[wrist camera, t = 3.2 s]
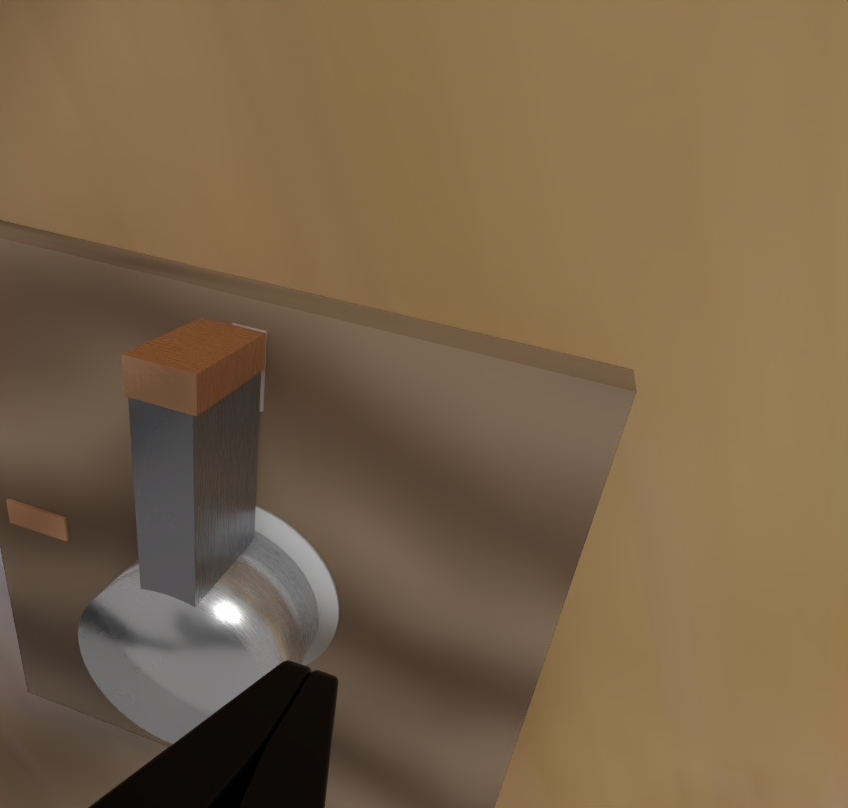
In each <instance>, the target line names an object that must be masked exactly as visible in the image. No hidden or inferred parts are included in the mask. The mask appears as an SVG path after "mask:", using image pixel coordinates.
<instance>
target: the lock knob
mask: <svg viewBox="0 0 848 808" xmlns="http://www.w3.org/2000/svg"><path fill="white" fill-rule="evenodd" d="M265 352H266V333H264V332H260V331H256V330H252V329H248V328H245V327H241V326H237V325H233V324H229V323H225V322H221V321H217V320H213V319H209V318H205V317H201V318H199V319H197V320H195V321H193V322H190V323H188V324H186V325H184V326H182V327H179V328H177V329H175V330H173V331H171V332H169V333H166V334H164V335H162V336H160V337H158V338H155V339H153V340H151V341H149V342H147V343H145V344H142V345H140V346H138V347H136V348H134V349H131V350H129V351H127V352H125V353H123V354H121V358H122V372H123V387H124V396H126V397H128V404H129V419H130V434H131V450H132V465H133V480H134V495H135V511H136V526H137V541H138V557H139V558H138V559H137V560H136V561H135V562H134V563H133V564H132V565H131V566H129V567H128V568H127V569H126V570H125V571H124V572H123V573H122V574H121V575H120V576H119V577H117V578H116V579H115V580H114V581H113V582H112V583H111V584H110V585H109V586H108V587H106V588H105V589H104V590H103V591H102V592H101V593H100V594H99V595H98V596H97V597H96V598H94V599H93V600H92V601H91V602H90V603H89V605H88V606H87V607H86V608H85V610H84V612H83V613H82V615H81V619H80V622H79V628H78V642H79V647H80V652H81V655H82V658H83V660H84V663H85V665H86V667H87V669H88V671H89V673H90V675H91V677H92V678H93V680H94V682H95V683H96V684H97V686H98V687H99V689H100V690H101V691H102V693H103V694H104V695H105V696H106V697H107V698H108V700H109V701H110V702H111V703H112V704H113V705H114V706H115V707H116V708H117V709H118V710H119V711H120V712H122V713H123V714H124V715H125V716H126V717H127V718H129V719H130V720H131V721H133V722H134V723H135V724H137V725H138V726H139V727H141V728H143V729H144V730H146V731H147V732H149V733H151V734H152V735H154V736H156V737H158V738H160V739H162V740H164V741H167V742H169V743H171V744H174V743H175V742H176V741H178V740H179V739H180V738H182V737H183V736H184V735H186V734H187V733H188V732H190V731H191V730H192V729H194V728H195V727H196V726H198V725H199V724H200V723H202V722H203V721H204V720H206V719H207V718H208V717H210V716H211V715H212V714H214V713H215V712H216V711H218V710H219V709H220V708H222V707H223V706H224V705H226V704H227V703H228V702H230V701H231V700H232V699H234V698H235V697H236V696H238V695H239V694H240V693H242V692H243V691H244V690H246V689H247V688H248V687H250V686H251V685H252V684H254V683H255V682H256V681H258V680H259V679H260V678H262V677H263V676H264V675H266V674H267V673H268V672H270V671H271V670H272V669H274V668H275V667H276V666H278V665H279V664H280V663H282V662H284V661H287V660H290V661H294V662H297V663H299V664H301V663H302V661H303V660H304V658H305V656H306V654H307V652H308V651H309V649H310V647H311V645H312V644H313V642H314V640H315V637H316V635H317V631H318V626H319V612H318V605H317V602H316V598H315V595H314V592H313V590H312V588H311V585H310V584H309V582H308V580H307V578H306V577H305V575H304V574H303V572H302V571H301V569H300V568H299V567H298V565H297V564H296V563H295V562H294V561H293V560H292V559H291V557H290V556H289V555H288V554H287V553H285V552H284V551H283V550H282V549H281V548H280V547H279V546H277V545H276V544H275V543H273V542H272V541H271V540H270V539H268V538H266V537H265V536H263V535H261V534H260V533H258V532H256V531H255V509H256V484H257V460H258V435H259V411H260V386H261V371H263V370H264V369H265Z"/></svg>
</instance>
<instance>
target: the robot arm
mask: <svg viewBox="0 0 848 808" xmlns="http://www.w3.org/2000/svg"><path fill="white" fill-rule="evenodd" d="M338 682H339V681H338V678H337V677H336V676H334V675H331V674H329V673H326V672H323V671H320V670H313V671H311V668H310V667H308V666H305V665H302V664H299V663H297V662H294V661H290V660H287V661H284V662H282V663H280V664H279V665H278V666H276V667H275V668H274V669H272V670H271V671H270V672H268V673H267V674H266V675H264V676H263V677H262V678H260V679H259V680H258V681H256V682H255V683H254V684H252V685H251V686H250V687H248V688H247V689H246V690H244V691H243V692H242V693H240V694H239V695H238V696H236V697H235V698H234V699H232V700H231V701H230V702H228V703H227V704H226V705H224V706H223V707H222V708H220V709H219V710H218V711H216V712H215V713H214V714H212V715H211V716H210V717H208V718H207V719H206V720H204V721H203V722H202V723H200V724H199V725H198V726H196V727H195V728H194V729H192V730H191V731H190V732H188V733H187V734H186V735H184V736H183V737H182V738H180V739H179V740H178V741H176V742H175V743H174V744H172V745H171V746H170V747H168V748H167V749H166V750H164V751H163V752H162V753H160V754H159V755H158V756H156V757H155V758H154V759H152V760H151V761H150V762H148V763H147V764H146V765H144V766H143V767H142V768H140V769H139V770H138V771H136V772H135V773H134V774H132V775H131V776H130V777H128V778H127V779H126V780H124V781H123V782H122V783H120V784H119V785H118V786H116V787H115V788H114V789H112V790H111V791H110V792H108V793H107V794H106V795H104V796H103V797H102V798H100V799H99V800H98V801H96V802H95V803H94V804H92V805H91V806H90V807H88V808H325V801H326V792H327V783H328V774H329V765H330V755H331V746H332V737H333V728H334V719H335V710H336V701H337V692H338Z"/></svg>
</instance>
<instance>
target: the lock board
mask: <svg viewBox="0 0 848 808" xmlns="http://www.w3.org/2000/svg"><path fill="white" fill-rule="evenodd" d="M201 317H205V318H209V319H213V320H217V321H221V322H225V323H229V324H233V325H237V326H241V327H245V328H248V329H252V330H256V331H260V332H264V333H266V352H265V369H264V370H263V371H261V386H260V411H259V435H258V460H257V484H256V509H255V531H256V532H258V533H260V534H261V535H263V536H265V537H266V538H268V539H270V540H271V541H272V542H273V543H275V544H276V545H277V546H279V547H280V548H281V549H282V550H283V551H284V552H285V553H287V554H288V555H289V556H290V557H291V559H292V560H293V561H294V562H295V563H296V564H297V565H298V567H299V568H300V569H301V571H302V572H303V574H304V575H305V577H306V578H307V580H308V582H309V584H310V585H311V588H312V590H313V592H314V595H315V598H316V602H317V605H318V612H319V626H318V631H317V635H316V637H315V640H314V642H313V644H312V645H311V647H310V649H309V651H308V652H307V654H306V656H305V658H304V660H303V661H302V663H301V664H302V665H305V666H308V667H310V668H311V671H313V670H320V671H323V672H326V673H329V674H331V675H334V676H336V677H337V678H338V681H339V682H338V692H337V701H336V710H335V719H334V728H333V737H332V746H331V755H330V765H329V774H328V783H327V792H326V801H325V807H327V808H494V807H495V804H496V801H497V798H498V795H499V792H500V789H501V786H502V783H503V780H504V777H505V775H506V772H507V769H508V766H509V763H510V760H511V757H512V754H513V751H514V748H515V745H516V742H517V739H518V737H519V734H520V731H521V728H522V725H523V722H524V719H525V716H526V713H527V710H528V707H529V704H530V701H531V699H532V696H533V693H534V690H535V687H536V684H537V681H538V678H539V675H540V672H541V669H542V666H543V663H544V661H545V658H546V655H547V652H548V649H549V646H550V643H551V640H552V637H553V634H554V631H555V628H556V625H557V623H558V620H559V617H560V614H561V611H562V608H563V605H564V602H565V599H566V596H567V593H568V590H569V587H570V585H571V582H572V579H573V576H574V573H575V570H576V567H577V564H578V561H579V558H580V555H581V552H582V549H583V547H584V544H585V541H586V538H587V535H588V532H589V529H590V526H591V523H592V520H593V517H594V514H595V511H596V509H597V506H598V503H599V500H600V497H601V494H602V491H603V488H604V485H605V482H606V479H607V476H608V473H609V471H610V468H611V465H612V462H613V459H614V456H615V453H616V450H617V447H618V444H619V441H620V438H621V435H622V433H623V430H624V427H625V424H626V421H627V418H628V415H629V412H630V409H631V406H632V403H633V400H634V397H635V395H636V385H635V378H634V370H631V369H627V368H623V367H618V366H614V365H610V364H606V363H602V362H597V361H593V360H589V359H585V358H580V357H576V356H572V355H568V354H563V353H559V352H555V351H551V350H547V349H542V348H538V347H534V346H530V345H525V344H521V343H517V342H513V341H508V340H504V339H500V338H496V337H492V336H487V335H483V334H479V333H475V332H470V331H466V330H462V329H458V328H453V327H449V326H445V325H441V324H437V323H432V322H428V321H424V320H420V319H415V318H411V317H407V316H403V315H398V314H394V313H390V312H386V311H382V310H377V309H373V308H369V307H365V306H360V305H356V304H352V303H348V302H343V301H339V300H335V299H331V298H327V297H322V296H318V295H314V294H310V293H305V292H301V291H297V290H293V289H288V288H284V287H280V286H276V285H272V284H267V283H263V282H259V281H255V280H250V279H246V278H242V277H238V276H233V275H229V274H225V273H221V272H216V271H212V270H208V269H204V268H200V267H195V266H191V265H187V264H183V263H178V262H174V261H170V260H166V259H161V258H157V257H153V256H149V255H145V254H140V253H136V252H132V251H128V250H123V249H119V248H115V247H111V246H106V245H102V244H98V243H94V242H90V241H85V240H81V239H77V238H73V237H68V236H64V235H60V234H56V233H51V232H47V231H43V230H39V229H35V228H30V227H26V226H22V225H18V224H13V223H9V222H5V221H1V220H0V549H1V554H2V559H3V564H4V570H5V575H6V580H7V585H8V590H9V596H10V601H11V606H12V611H13V617H14V622H15V627H16V632H17V637H18V643H19V648H20V653H21V658H22V664H23V669H24V674H25V679H26V685H27V690H28V692H30V693H32V694H35V695H38V696H40V697H43V698H45V699H48V700H51V701H53V702H56V703H58V704H61V705H63V706H66V707H69V708H71V709H74V710H76V711H79V712H81V713H84V714H87V715H89V716H92V717H94V718H97V719H100V720H102V721H105V722H107V723H110V724H112V725H115V726H118V727H120V728H123V729H125V730H128V731H130V732H133V733H136V734H138V735H141V736H143V737H146V738H149V739H151V740H154V741H156V742H159V743H161V744H164V745H167V746H169V747H170V746H171V745H172V744H171V743H169V742H167V741H164V740H162V739H160V738H158V737H156V736H154V735H152V734H151V733H149V732H147V731H146V730H144V729H143V728H141V727H139V726H138V725H137V724H135V723H134V722H133V721H131V720H130V719H129V718H127V717H126V716H125V715H124V714H123V713H122V712H120V711H119V710H118V709H117V708H116V707H115V706H114V705H113V704H112V703H111V702H110V701H109V700H108V698H107V697H106V696H105V695H104V694H103V693H102V691H101V690H100V689H99V687H98V686H97V684H96V683H95V682H94V680H93V678H92V677H91V675H90V673H89V671H88V669H87V667H86V665H85V663H84V660H83V658H82V655H81V652H80V647H79V642H78V628H79V622H80V619H81V615H82V613H83V612H84V610H85V608H86V607H87V606H88V605H89V603H90V602H91V601H92V600H93V599H94V598H96V597H97V596H98V595H99V594H100V593H101V592H102V591H103V590H104V589H105V588H106V587H108V586H109V585H110V584H111V583H112V582H113V581H114V580H115V579H116V578H117V577H119V576H120V575H121V574H122V573H123V572H124V571H125V570H126V569H127V568H128V567H129V566H131V565H132V564H133V563H134V562H135V561H136V560H137V559H138V558H139V557H138V541H137V526H136V511H135V495H134V480H133V465H132V450H131V434H130V419H129V404H128V397H126V396H124V387H123V372H122V358H121V354H123V353H125V352H127V351H129V350H131V349H134V348H136V347H138V346H140V345H142V344H145V343H147V342H149V341H151V340H153V339H155V338H158V337H160V336H162V335H164V334H166V333H169V332H171V331H173V330H175V329H177V328H179V327H182V326H184V325H186V324H188V323H190V322H193V321H195V320H197V319H199V318H201Z"/></svg>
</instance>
